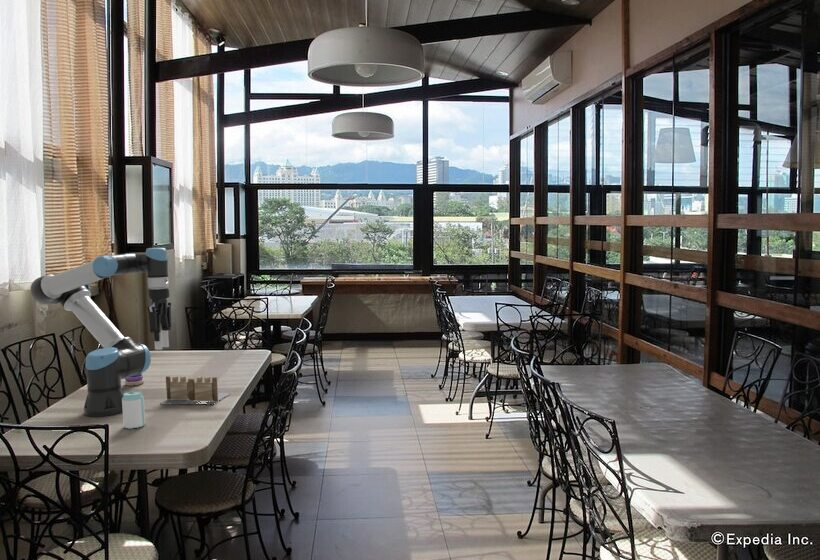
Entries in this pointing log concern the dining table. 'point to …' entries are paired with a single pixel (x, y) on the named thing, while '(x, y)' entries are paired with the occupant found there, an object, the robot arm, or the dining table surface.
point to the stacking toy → (134, 380)
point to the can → (133, 410)
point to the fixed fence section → (203, 389)
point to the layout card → (177, 401)
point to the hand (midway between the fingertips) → (162, 348)
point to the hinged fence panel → (177, 388)
